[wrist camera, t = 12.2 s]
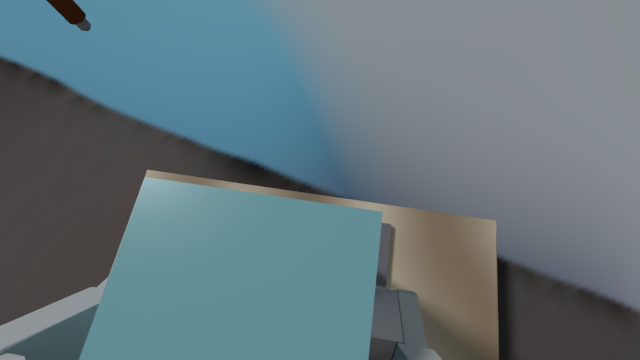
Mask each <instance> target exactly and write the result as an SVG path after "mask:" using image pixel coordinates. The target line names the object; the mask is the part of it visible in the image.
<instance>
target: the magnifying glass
mask: <svg viewBox="0 0 640 360" xmlns="http://www.w3.org/2000/svg"><path fill="white" fill-rule="evenodd" d="M47 1H48V2H49V3H50V4H51V5H52V6H53V7H54V8H55V9H56V10H57V11H58V12H59V13H60V14H61V15H62V16H63V17H64V18H65V19H66V20H67V21H68V22H69V23H70V24H76V25H77V26H78V27H79V28H80V29H81V30H83V31H88V30H90V26H91V25H90V23H89V22H88V21H87V20H86V19H85V17H86V15H85V13H84V12H83V11H82V10H81V9H80V7H79V6H78V5H77V4H76V3H75V2H74V1H73V0H47Z"/></svg>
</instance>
